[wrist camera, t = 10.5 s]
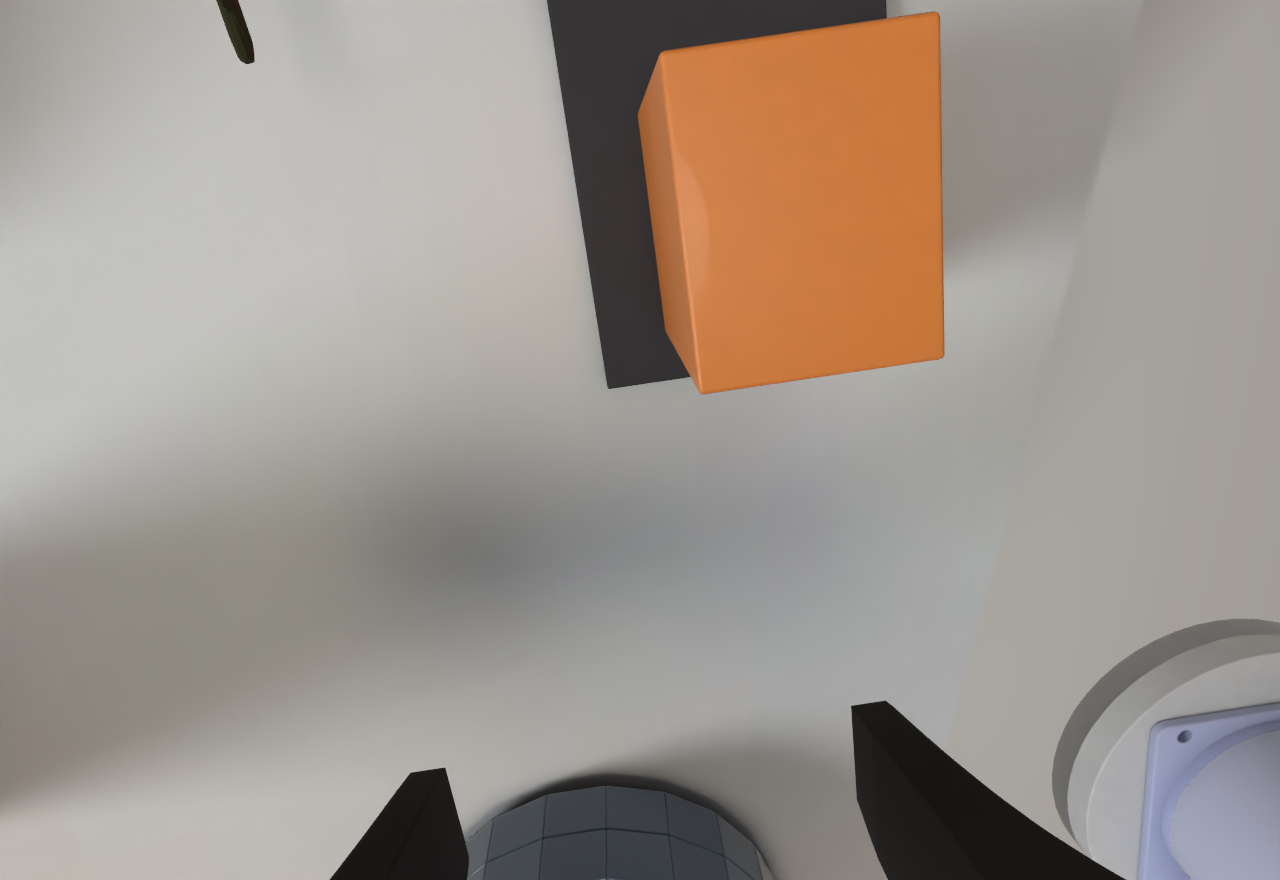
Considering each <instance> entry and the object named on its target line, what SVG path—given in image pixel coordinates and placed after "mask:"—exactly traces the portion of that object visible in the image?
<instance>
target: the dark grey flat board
mask: <svg viewBox="0 0 1280 880" xmlns="http://www.w3.org/2000/svg"><path fill="white" fill-rule="evenodd" d="M547 3H548V9H549V16H550V22H551V28H552V35H553V41H554V47H555V54H556V60H557V67H558V73H559V79H560V86H561V92H562V99H563V105H564V111H565V118H566V124H567V131H568V137H569V143H570V150H571V156H572V162H573V169H574V175H575V182H576V188H577V194H578V201H579V207H580V214H581V220H582V226H583V233H584V239H585V246H586V252H587V258H588V265H589V271H590V277H591V284H592V290H593V297H594V303H595V309H596V316H597V322H598V329H599V335H600V341H601V348H602V354H603V361H604V367H605V373H606V380H607V386H608V388H609V389H612V388H618V387H625V386H632V385H639V384H645V383H652V382H659V381H666V380H672V379H679V378H686V377H691V376H690V374H689V372H688V371H687V369H686V367H685V365H684V363H683V362H682V360H681V358H680V356H679V354H678V353H677V351H676V349H675V347H674V345H673V344H672V342H671V340H670V338H669V336H668V335H667V333H666V331H665V324H664V316H663V308H662V301H661V293H660V285H659V277H658V270H657V262H656V254H655V246H654V239H653V231H652V223H651V215H650V207H649V200H648V192H647V184H646V176H645V169H644V161H643V153H642V145H641V138H640V130H639V122H638V112H639V109H640V106H641V103H642V101H643V98H644V95H645V93H646V90H647V87H648V85H649V82H650V79H651V76H652V74H653V71H654V68H655V66H656V63H657V60H658V57H659V55H660V53H661V52H663V51H664V50H671V49H678V48H685V47H692V46H699V45H705V44H712V43H719V42H726V41H733V40H740V39H747V38H754V37H761V36H768V35H775V34H782V33H789V32H796V31H802V30H809V29H816V28H823V27H830V26H837V25H844V24H851V23H858V22H865V21H872V20H879V19H886V18H887V13H886V0H547Z"/></svg>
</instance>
